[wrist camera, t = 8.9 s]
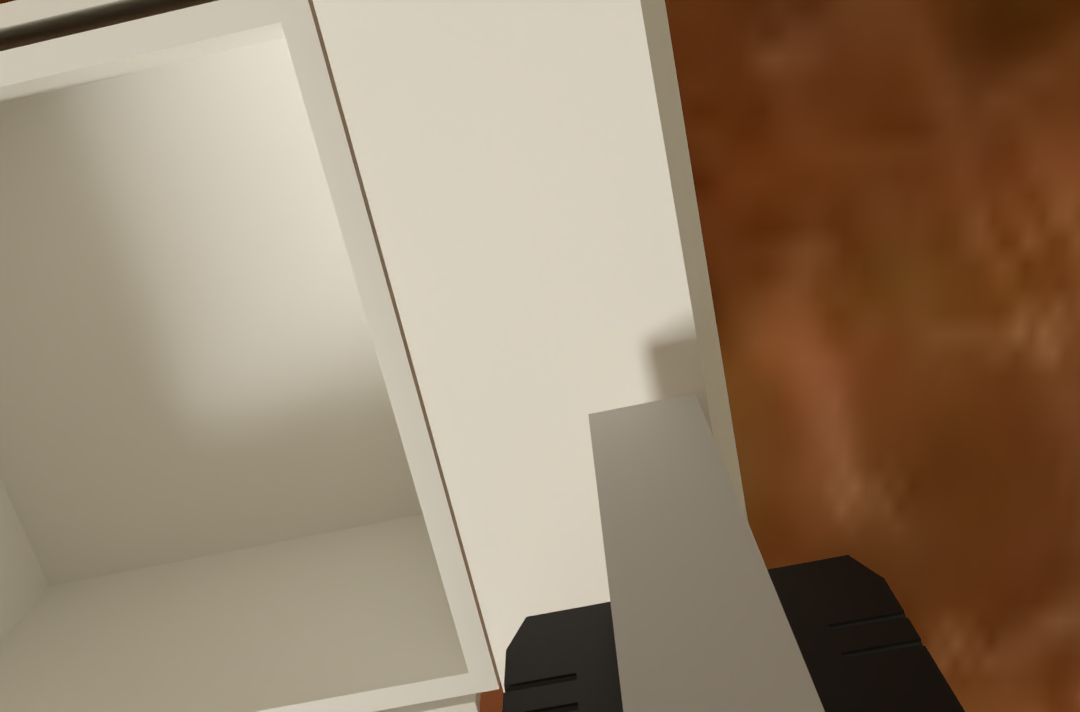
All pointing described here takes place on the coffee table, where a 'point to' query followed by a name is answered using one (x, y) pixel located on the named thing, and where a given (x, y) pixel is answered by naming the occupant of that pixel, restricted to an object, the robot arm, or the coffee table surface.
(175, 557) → the white open box
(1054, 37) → the coffee table surface
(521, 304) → the flap
